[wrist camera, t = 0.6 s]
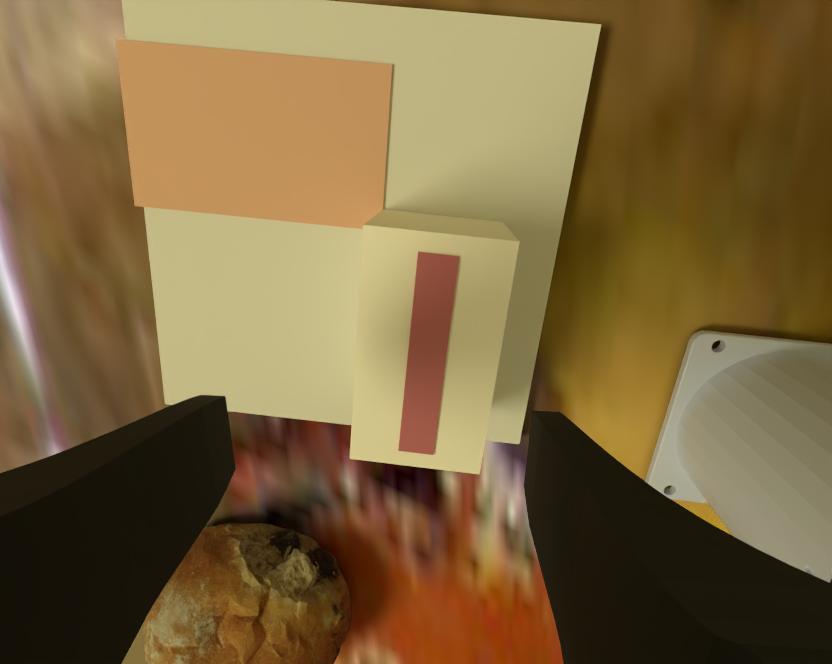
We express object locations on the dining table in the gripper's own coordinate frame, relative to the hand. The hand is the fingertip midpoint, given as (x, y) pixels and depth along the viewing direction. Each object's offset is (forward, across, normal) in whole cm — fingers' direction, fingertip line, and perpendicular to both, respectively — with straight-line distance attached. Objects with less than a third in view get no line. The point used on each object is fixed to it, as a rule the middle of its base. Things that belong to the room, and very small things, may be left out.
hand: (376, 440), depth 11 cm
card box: (+9, -1, 0) cm, 9 cm away
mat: (+9, +2, -3) cm, 10 cm away
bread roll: (+10, +8, +16) cm, 20 cm away
